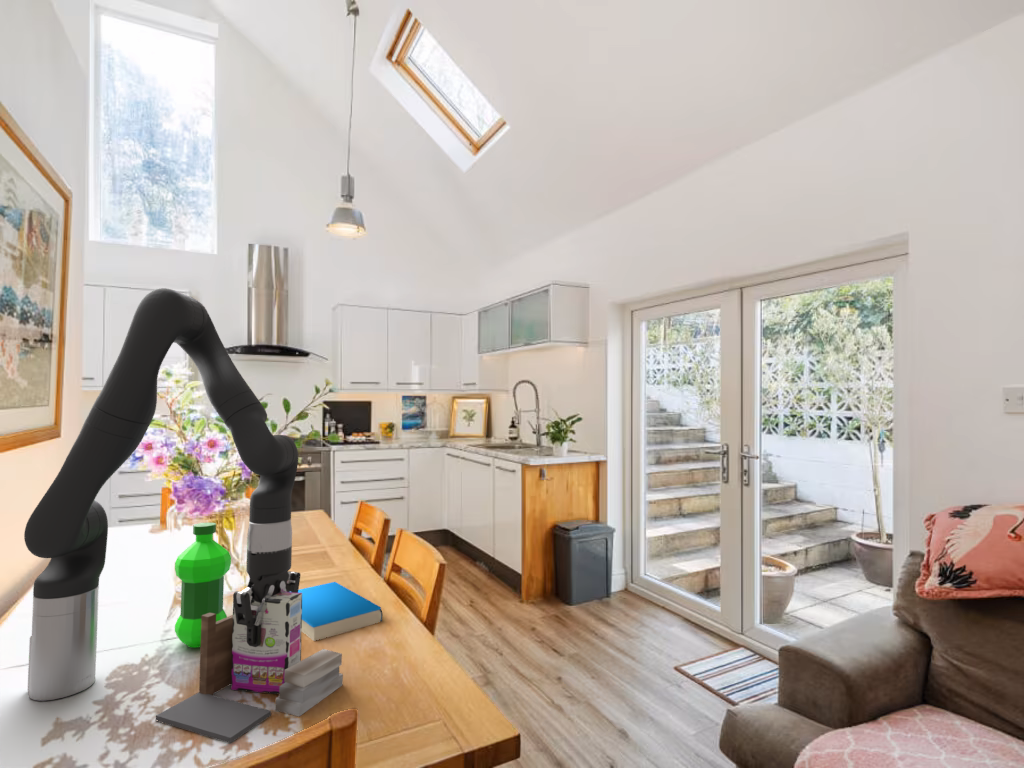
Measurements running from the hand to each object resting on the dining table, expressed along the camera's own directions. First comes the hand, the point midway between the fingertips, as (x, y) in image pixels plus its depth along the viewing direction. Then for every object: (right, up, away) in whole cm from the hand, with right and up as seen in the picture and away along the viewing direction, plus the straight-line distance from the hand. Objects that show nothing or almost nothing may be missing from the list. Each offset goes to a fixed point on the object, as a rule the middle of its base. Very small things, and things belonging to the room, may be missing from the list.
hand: (267, 638), depth 100 cm
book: (-1, -10, +34) cm, 35 cm away
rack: (-7, -9, +2) cm, 11 cm away
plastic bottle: (-22, -9, +18) cm, 30 cm away
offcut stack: (+9, -8, -4) cm, 13 cm away
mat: (-4, -8, -11) cm, 14 cm away
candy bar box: (0, -9, 0) cm, 9 cm away
